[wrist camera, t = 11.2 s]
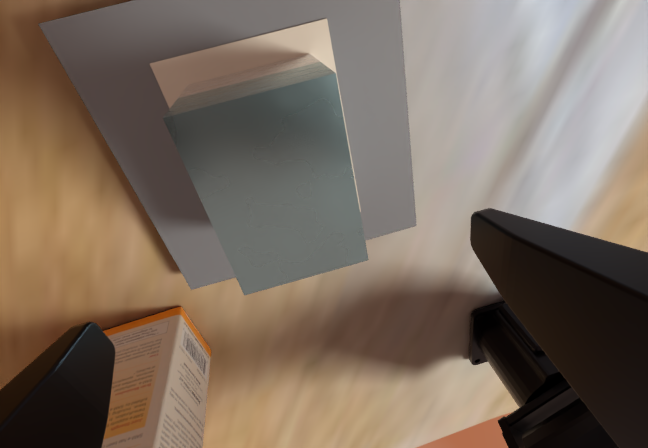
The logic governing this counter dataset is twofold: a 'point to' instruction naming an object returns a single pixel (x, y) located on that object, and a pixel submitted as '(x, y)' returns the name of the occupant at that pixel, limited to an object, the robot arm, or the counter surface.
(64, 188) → the counter surface
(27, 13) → the counter surface
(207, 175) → the block
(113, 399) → the supplement box
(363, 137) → the stand
